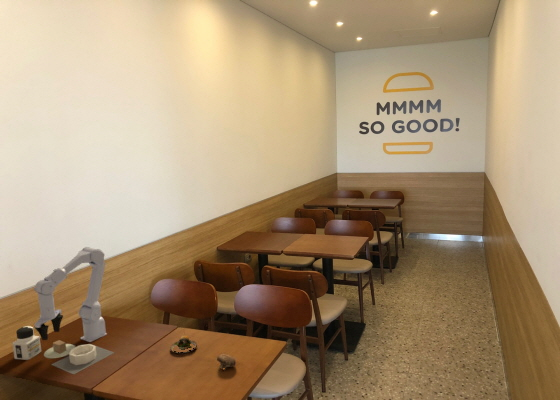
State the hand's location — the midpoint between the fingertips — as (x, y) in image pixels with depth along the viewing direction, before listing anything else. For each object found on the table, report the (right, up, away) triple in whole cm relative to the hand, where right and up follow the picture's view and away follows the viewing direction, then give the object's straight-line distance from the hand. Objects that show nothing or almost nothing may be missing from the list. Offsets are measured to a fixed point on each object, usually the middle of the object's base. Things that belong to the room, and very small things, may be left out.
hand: (50, 335), depth 192 cm
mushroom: (+80, -9, -13) cm, 82 cm away
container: (-11, -10, +2) cm, 15 cm away
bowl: (+16, -9, -3) cm, 19 cm away
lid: (+2, -9, +5) cm, 10 cm away
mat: (+16, -10, -3) cm, 19 cm away
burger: (+59, -8, +4) cm, 59 cm away
